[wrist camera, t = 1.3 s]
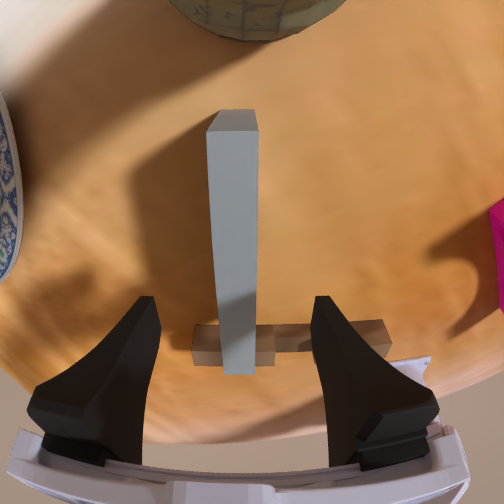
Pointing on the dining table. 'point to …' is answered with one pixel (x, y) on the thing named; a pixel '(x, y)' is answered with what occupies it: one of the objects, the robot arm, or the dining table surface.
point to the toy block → (499, 245)
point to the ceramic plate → (9, 194)
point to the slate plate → (234, 233)
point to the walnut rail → (280, 341)
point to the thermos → (256, 16)
